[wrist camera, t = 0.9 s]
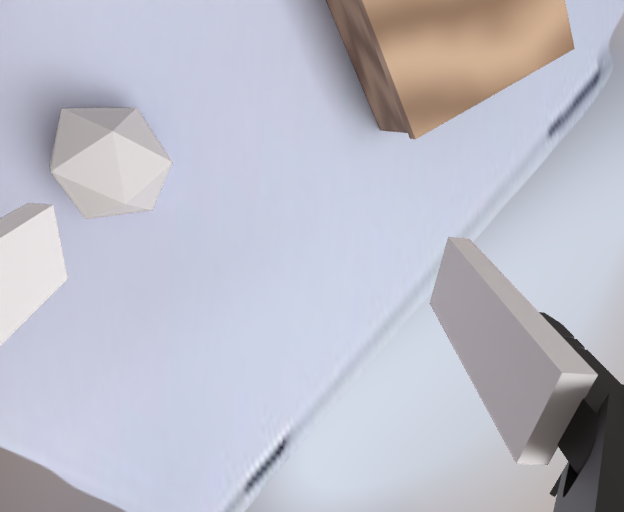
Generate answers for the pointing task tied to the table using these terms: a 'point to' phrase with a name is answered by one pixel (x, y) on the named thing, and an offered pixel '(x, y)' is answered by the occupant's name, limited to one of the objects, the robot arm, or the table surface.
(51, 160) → the die
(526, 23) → the wooden box
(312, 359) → the table surface
